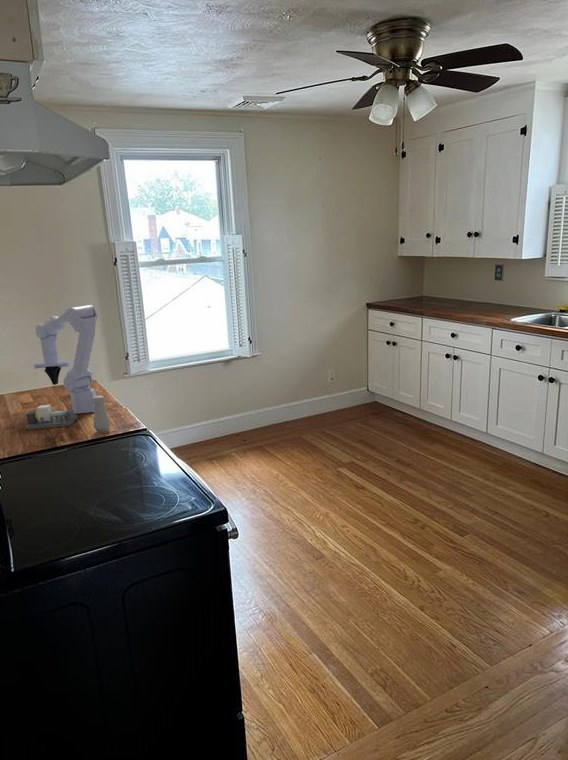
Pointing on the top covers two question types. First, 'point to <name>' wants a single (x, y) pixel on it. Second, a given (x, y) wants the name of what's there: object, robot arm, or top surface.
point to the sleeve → (44, 412)
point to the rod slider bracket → (51, 419)
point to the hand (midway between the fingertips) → (55, 384)
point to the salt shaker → (100, 415)
